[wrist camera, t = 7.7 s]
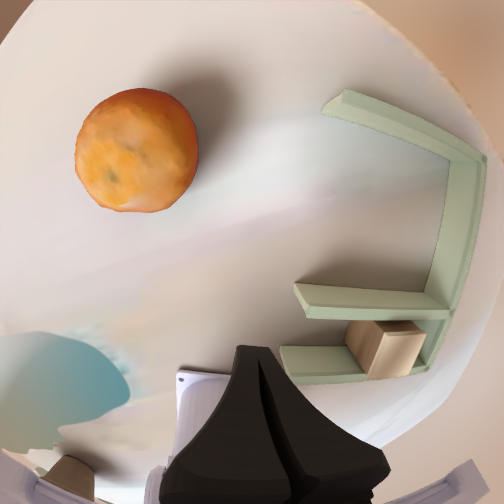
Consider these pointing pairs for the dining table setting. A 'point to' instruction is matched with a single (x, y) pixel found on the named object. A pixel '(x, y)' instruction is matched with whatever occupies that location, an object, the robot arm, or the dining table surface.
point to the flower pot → (72, 477)
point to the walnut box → (384, 346)
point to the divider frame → (443, 265)
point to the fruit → (137, 151)
